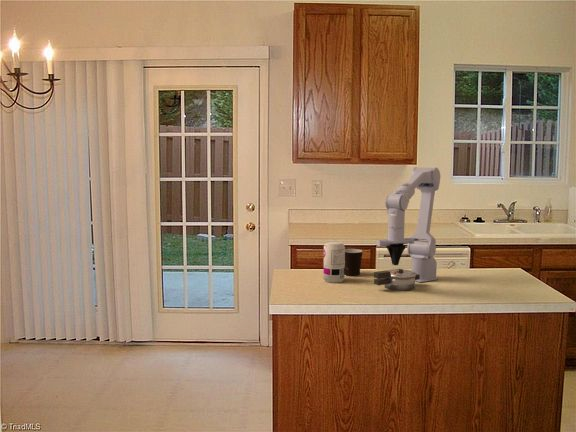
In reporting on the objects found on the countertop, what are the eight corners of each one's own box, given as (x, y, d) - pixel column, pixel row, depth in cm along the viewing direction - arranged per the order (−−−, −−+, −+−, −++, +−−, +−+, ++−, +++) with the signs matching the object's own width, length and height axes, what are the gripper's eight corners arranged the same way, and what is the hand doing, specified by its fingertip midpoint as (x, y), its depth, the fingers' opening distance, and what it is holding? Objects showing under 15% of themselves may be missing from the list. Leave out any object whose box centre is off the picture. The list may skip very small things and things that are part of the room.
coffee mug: (361, 277, 212) (362, 253, 211) (340, 276, 214) (340, 252, 213) (363, 271, 223) (363, 247, 222) (342, 270, 225) (343, 247, 224)
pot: (406, 281, 206) (406, 270, 206) (426, 287, 197) (427, 276, 196) (366, 287, 197) (367, 275, 196) (385, 294, 187) (386, 282, 187)
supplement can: (320, 282, 205) (320, 243, 203) (327, 277, 212) (327, 240, 211) (340, 284, 202) (341, 245, 200) (346, 279, 209) (347, 241, 208)
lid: (401, 270, 205) (402, 264, 204) (422, 276, 194) (422, 271, 194) (366, 274, 197) (366, 269, 197) (386, 281, 187) (386, 276, 186)
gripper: (406, 224, 195) (405, 260, 197) (372, 226, 190) (371, 264, 191) (418, 227, 189) (417, 264, 190) (383, 229, 183) (382, 268, 185)
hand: (395, 264), depth 190 cm, fingers closed
